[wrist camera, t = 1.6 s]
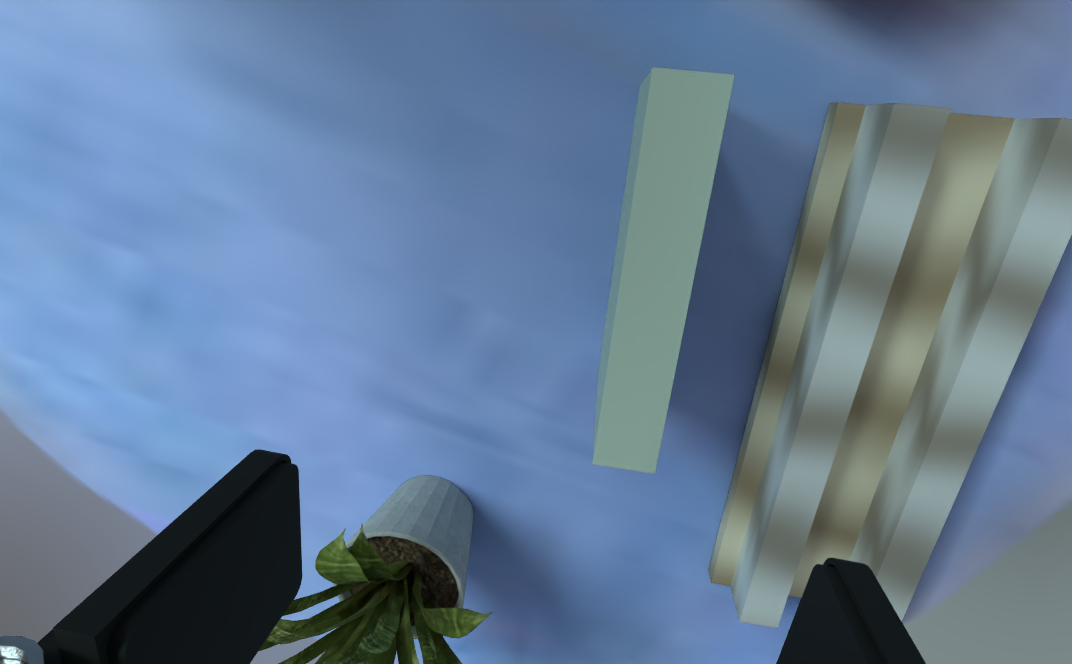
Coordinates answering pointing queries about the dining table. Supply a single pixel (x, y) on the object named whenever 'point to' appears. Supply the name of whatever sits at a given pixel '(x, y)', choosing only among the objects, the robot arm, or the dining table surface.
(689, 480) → the dining table surface
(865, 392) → the door track
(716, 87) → the door panel
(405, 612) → the house plant
